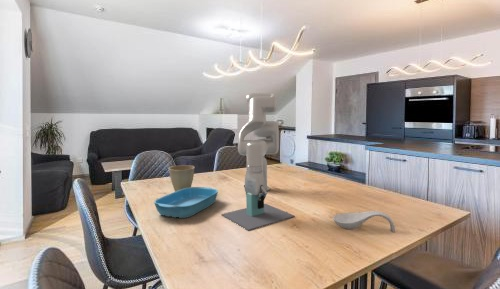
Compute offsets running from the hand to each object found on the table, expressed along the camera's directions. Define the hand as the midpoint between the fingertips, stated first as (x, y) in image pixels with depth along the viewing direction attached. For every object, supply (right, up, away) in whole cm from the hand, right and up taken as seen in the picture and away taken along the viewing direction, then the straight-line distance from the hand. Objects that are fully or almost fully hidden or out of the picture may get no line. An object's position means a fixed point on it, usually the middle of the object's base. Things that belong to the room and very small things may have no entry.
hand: (255, 205), depth 134 cm
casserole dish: (-34, -4, +11) cm, 36 cm away
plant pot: (-42, -1, +37) cm, 56 cm away
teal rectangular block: (0, -4, +1) cm, 4 cm away
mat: (+1, -5, -1) cm, 5 cm away
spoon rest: (+44, -6, -15) cm, 47 cm away
